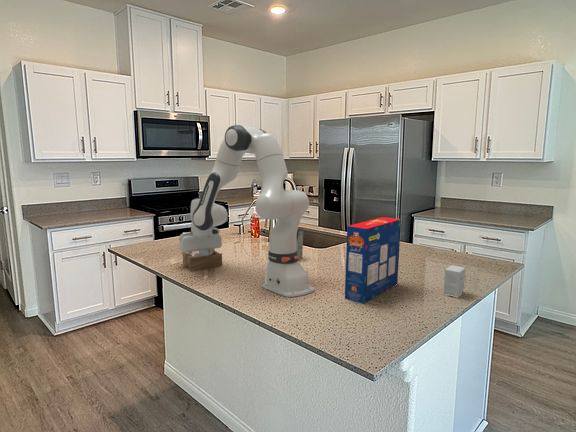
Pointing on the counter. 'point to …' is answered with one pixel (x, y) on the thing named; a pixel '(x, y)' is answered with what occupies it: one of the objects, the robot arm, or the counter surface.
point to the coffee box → (299, 243)
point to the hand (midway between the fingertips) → (201, 258)
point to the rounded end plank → (204, 252)
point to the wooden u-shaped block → (202, 261)
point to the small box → (454, 280)
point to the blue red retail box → (371, 258)
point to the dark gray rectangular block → (199, 254)
